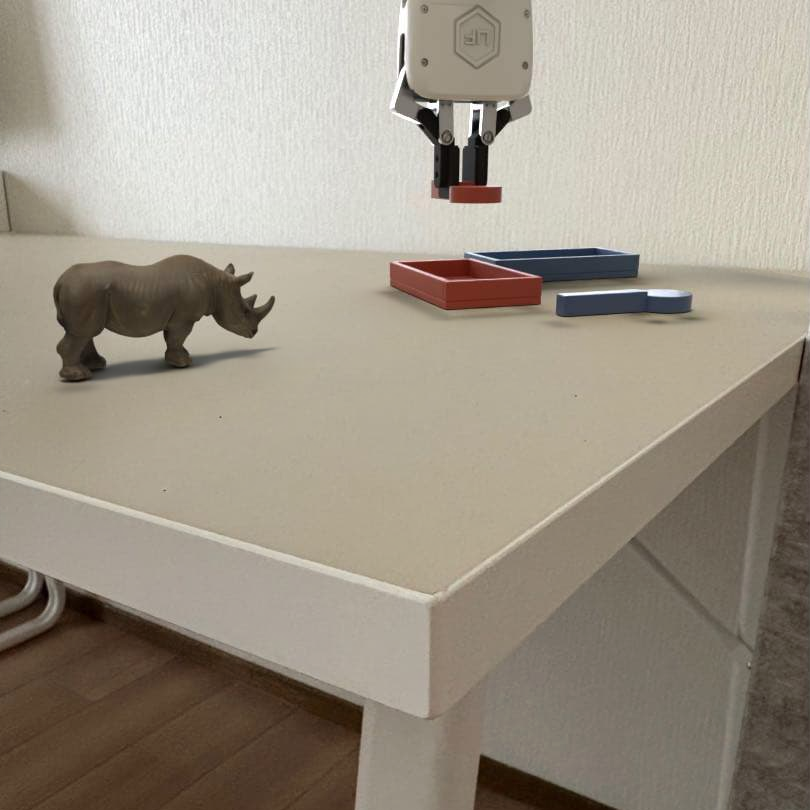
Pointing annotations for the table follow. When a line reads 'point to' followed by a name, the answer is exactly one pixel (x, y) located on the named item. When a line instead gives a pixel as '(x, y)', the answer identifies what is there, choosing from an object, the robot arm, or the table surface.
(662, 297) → the blue spoon
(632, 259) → the blue tray
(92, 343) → the rhino figurine
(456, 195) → the red spoon
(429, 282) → the red tray
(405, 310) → the table surface
